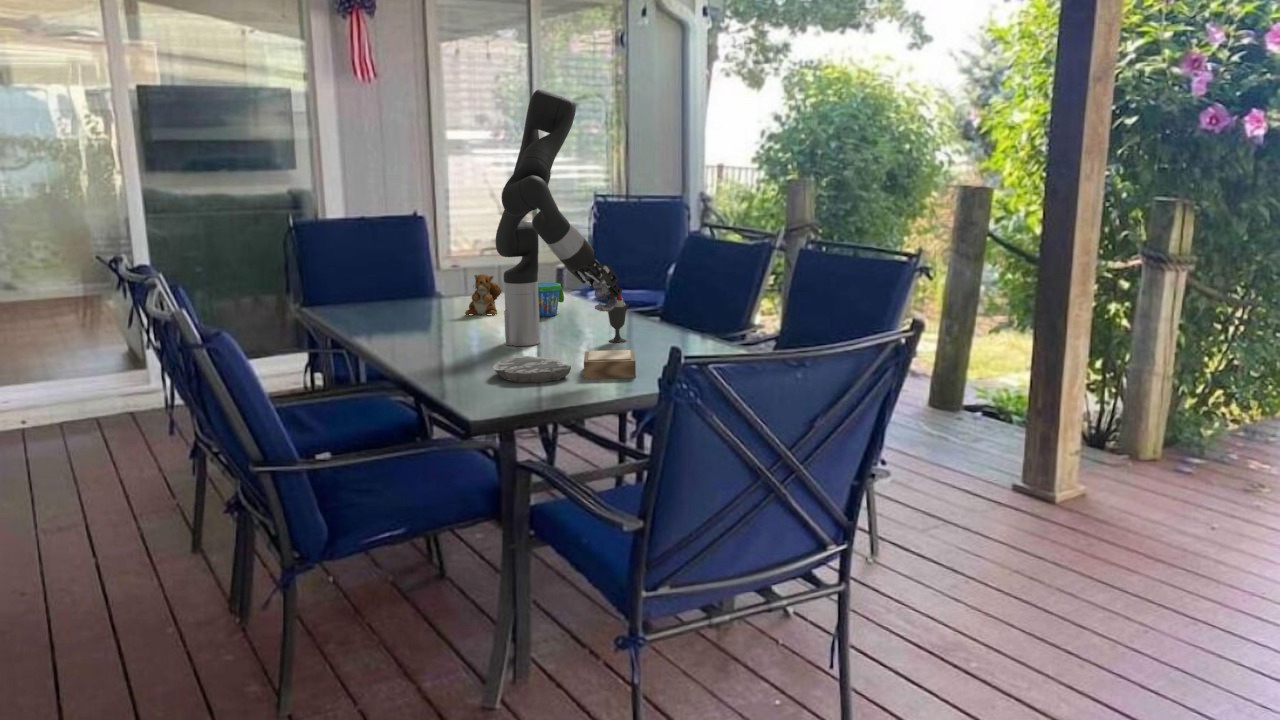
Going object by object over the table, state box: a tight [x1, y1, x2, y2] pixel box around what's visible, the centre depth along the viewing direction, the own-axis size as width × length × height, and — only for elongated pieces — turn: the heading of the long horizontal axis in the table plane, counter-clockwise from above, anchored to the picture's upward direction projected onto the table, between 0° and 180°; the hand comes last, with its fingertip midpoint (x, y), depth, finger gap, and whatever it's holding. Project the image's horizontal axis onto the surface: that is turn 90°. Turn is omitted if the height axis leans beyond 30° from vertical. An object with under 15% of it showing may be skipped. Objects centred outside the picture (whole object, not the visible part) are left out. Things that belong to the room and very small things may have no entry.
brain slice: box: [491, 355, 572, 384], centre depth 228 cm, size 20×17×3 cm
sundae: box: [607, 287, 630, 344], centre depth 267 cm, size 7×7×15 cm
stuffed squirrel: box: [464, 274, 502, 316], centre depth 318 cm, size 10×14×13 cm
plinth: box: [583, 349, 637, 380], centre depth 231 cm, size 12×12×4 cm
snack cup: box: [538, 281, 565, 318], centre depth 312 cm, size 16×10×10 cm
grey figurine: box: [592, 274, 617, 313], centre depth 229 cm, size 5×5×10 cm
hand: (610, 293), depth 230 cm, fingers closed on grey figurine, 5 cm apart
